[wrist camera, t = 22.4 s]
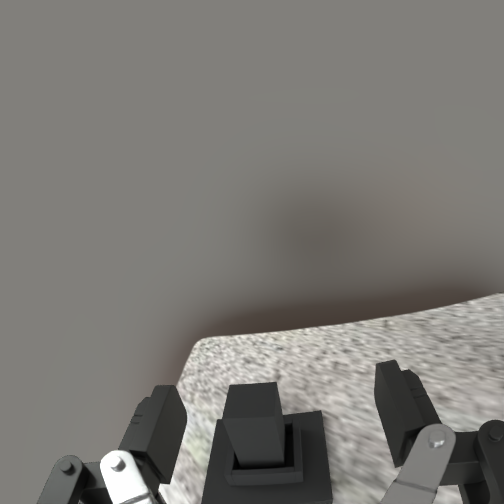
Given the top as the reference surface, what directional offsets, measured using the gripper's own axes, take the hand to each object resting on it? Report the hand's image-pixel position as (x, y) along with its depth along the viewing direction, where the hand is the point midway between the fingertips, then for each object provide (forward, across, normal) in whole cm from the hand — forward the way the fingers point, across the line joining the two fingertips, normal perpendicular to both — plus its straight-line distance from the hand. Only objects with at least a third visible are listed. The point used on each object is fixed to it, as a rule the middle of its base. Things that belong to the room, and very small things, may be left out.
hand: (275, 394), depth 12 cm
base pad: (+13, +4, +25) cm, 29 cm away
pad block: (+14, +4, +24) cm, 28 cm away
